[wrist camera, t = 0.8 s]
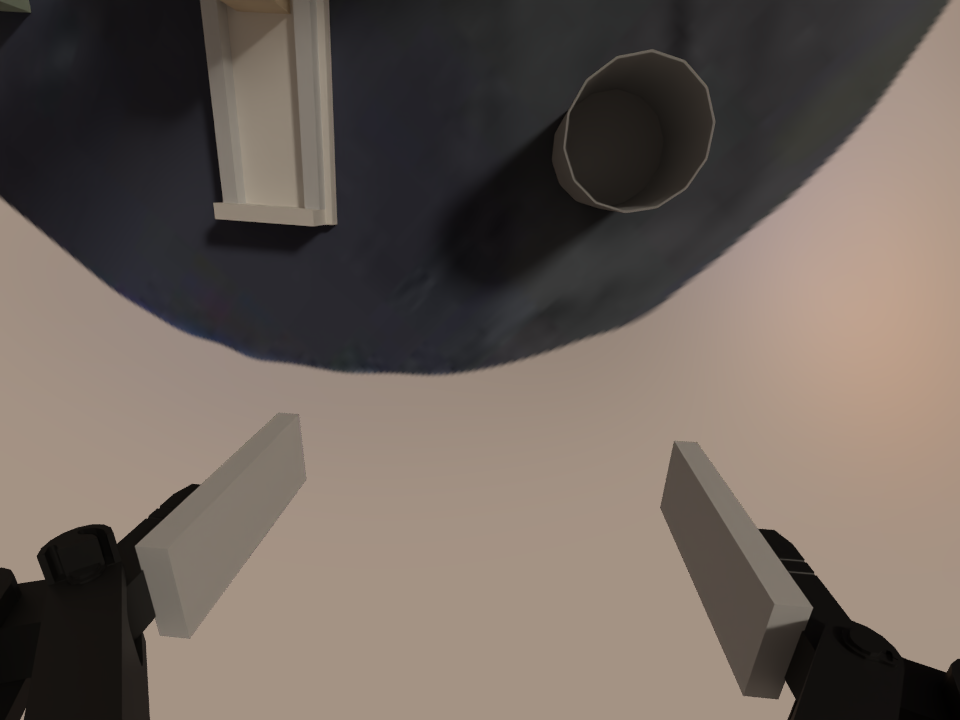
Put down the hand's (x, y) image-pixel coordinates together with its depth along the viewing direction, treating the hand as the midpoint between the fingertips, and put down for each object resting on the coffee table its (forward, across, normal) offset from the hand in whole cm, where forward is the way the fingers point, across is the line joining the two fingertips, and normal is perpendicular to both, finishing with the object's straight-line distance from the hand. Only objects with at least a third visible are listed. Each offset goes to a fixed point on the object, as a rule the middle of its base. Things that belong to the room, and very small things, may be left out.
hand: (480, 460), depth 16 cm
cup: (+26, +7, +12) cm, 30 cm away
